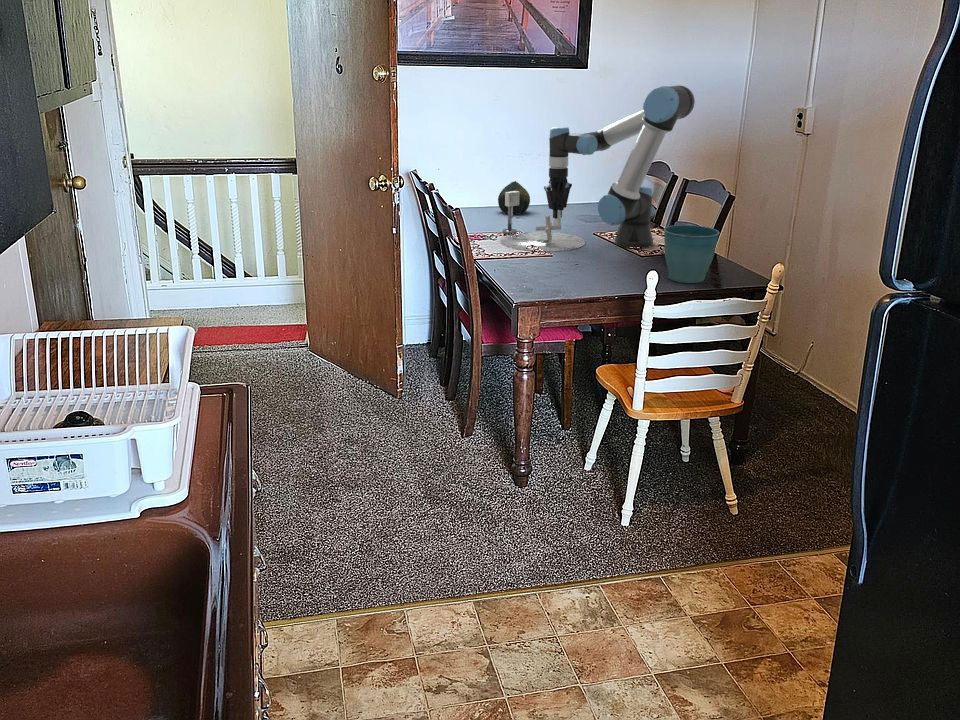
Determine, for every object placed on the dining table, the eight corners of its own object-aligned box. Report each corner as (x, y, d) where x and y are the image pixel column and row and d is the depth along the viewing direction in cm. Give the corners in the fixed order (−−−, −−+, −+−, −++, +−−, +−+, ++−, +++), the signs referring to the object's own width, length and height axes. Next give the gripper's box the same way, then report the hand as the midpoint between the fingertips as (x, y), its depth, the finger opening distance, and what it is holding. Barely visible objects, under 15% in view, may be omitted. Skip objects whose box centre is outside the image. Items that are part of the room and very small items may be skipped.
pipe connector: (562, 234, 350) (561, 211, 346) (560, 242, 341) (558, 218, 337) (538, 236, 352) (536, 212, 348) (535, 244, 343) (533, 220, 339)
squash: (510, 205, 388) (525, 178, 391) (487, 202, 399) (502, 175, 401) (526, 223, 398) (541, 196, 401) (504, 219, 408) (518, 193, 411)
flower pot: (705, 272, 301) (710, 224, 295) (721, 286, 284) (726, 236, 278) (654, 272, 301) (658, 224, 295) (667, 286, 284) (671, 236, 278)
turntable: (602, 244, 341) (603, 243, 341) (536, 255, 323) (536, 254, 323) (548, 229, 367) (548, 228, 367) (484, 239, 349) (484, 238, 349)
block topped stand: (519, 233, 360) (520, 191, 354) (508, 234, 356) (508, 193, 350) (510, 230, 364) (511, 189, 358) (499, 232, 361) (500, 191, 355)
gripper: (564, 164, 345) (563, 222, 353) (539, 167, 338) (538, 226, 347) (577, 166, 339) (575, 225, 348) (551, 169, 332) (550, 229, 341)
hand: (557, 225), depth 347 cm, fingers closed
